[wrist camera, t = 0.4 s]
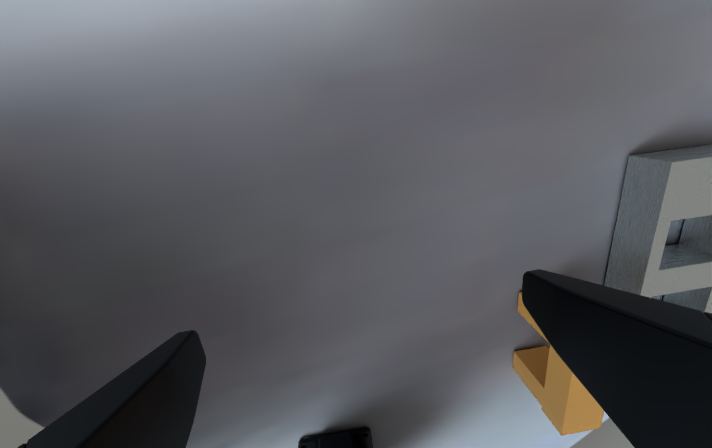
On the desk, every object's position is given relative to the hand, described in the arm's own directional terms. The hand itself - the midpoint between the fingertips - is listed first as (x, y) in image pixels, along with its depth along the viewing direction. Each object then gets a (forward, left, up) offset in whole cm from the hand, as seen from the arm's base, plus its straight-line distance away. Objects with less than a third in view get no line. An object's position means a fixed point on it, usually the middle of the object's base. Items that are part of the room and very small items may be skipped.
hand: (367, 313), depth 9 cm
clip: (-14, -15, -14) cm, 25 cm away
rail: (-9, -25, -14) cm, 30 cm away
